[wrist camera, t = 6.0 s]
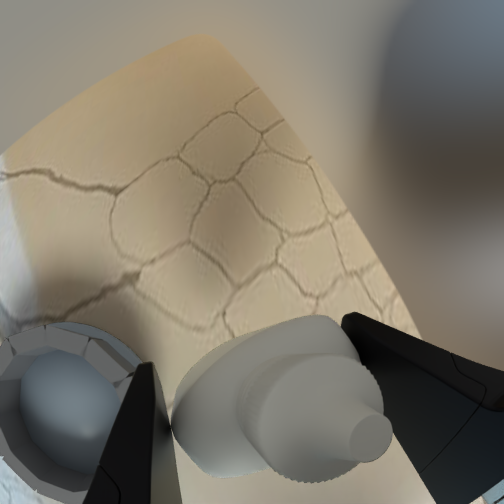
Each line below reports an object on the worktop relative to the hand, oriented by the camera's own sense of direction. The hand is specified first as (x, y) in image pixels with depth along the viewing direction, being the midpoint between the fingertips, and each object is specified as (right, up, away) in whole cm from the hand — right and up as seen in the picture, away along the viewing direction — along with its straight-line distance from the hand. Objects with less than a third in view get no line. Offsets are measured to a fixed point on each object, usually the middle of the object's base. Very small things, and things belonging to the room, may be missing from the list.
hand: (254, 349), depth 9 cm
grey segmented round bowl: (-12, -8, +9) cm, 17 cm away
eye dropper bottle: (-1, -3, +6) cm, 7 cm away
